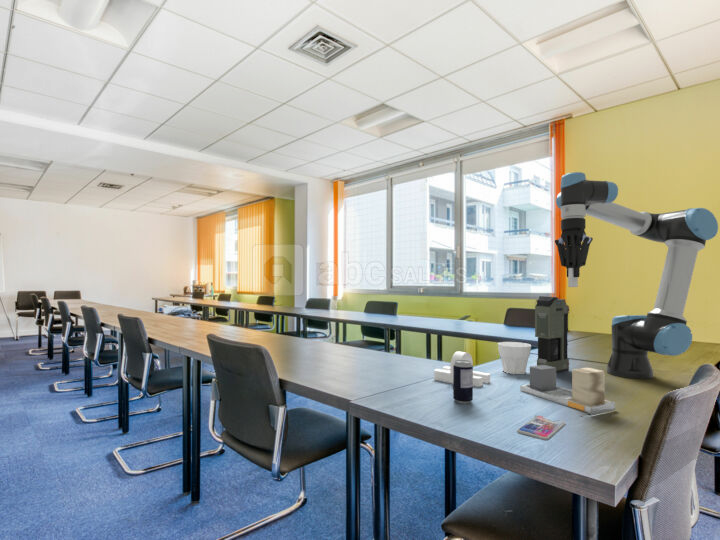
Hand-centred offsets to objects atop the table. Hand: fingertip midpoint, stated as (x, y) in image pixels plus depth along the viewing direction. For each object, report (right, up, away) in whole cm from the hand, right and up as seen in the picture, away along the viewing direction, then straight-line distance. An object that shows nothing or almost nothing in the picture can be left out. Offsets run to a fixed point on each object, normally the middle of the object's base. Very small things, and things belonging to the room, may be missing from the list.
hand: (573, 286), depth 139 cm
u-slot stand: (-37, -35, +7) cm, 51 cm away
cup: (-12, -35, +22) cm, 43 cm away
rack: (-11, -34, -16) cm, 39 cm away
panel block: (-8, -33, -23) cm, 41 cm away
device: (+4, -35, +23) cm, 42 cm away
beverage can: (-42, -34, -17) cm, 57 cm away
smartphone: (-28, -34, -38) cm, 58 cm away
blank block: (-14, -34, -9) cm, 37 cm away
